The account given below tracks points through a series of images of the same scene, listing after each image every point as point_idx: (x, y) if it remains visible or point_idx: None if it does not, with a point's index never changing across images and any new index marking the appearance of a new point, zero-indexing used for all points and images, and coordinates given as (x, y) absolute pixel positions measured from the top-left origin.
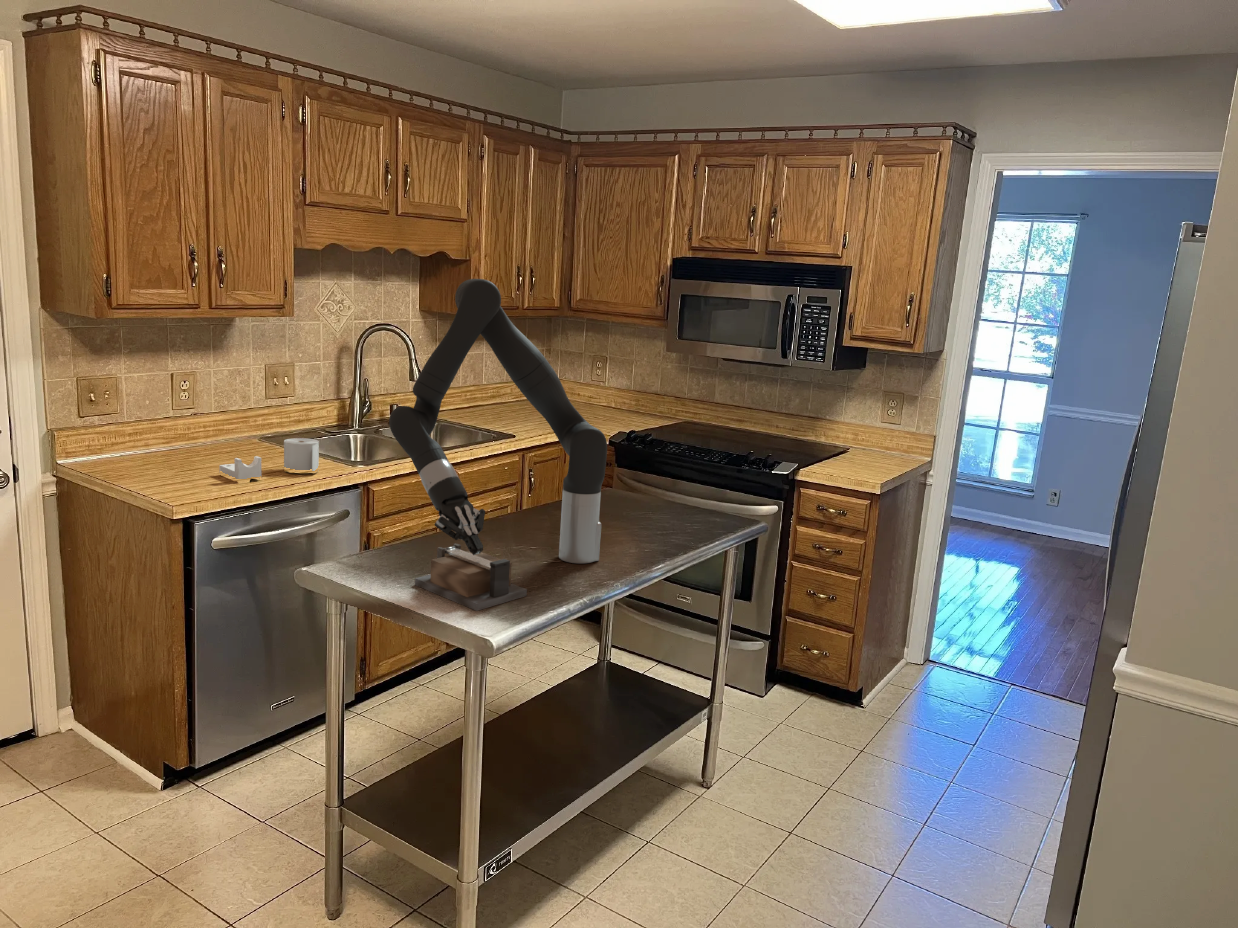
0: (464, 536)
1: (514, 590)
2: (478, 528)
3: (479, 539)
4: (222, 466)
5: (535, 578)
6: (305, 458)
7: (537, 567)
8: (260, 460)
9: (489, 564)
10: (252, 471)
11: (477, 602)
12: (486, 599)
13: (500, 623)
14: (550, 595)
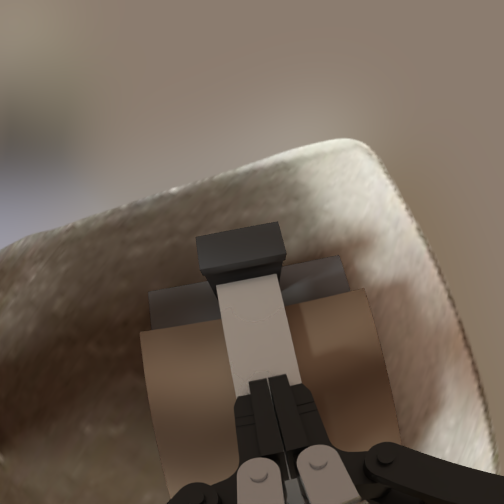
0: (348, 453)
1: (184, 300)
2: (215, 495)
3: (239, 439)
4: None
5: (60, 394)
6: None
7: (23, 448)
8: None
9: (258, 309)
10: None
11: (333, 262)
12: (299, 272)
13: (315, 179)
14: (105, 271)
